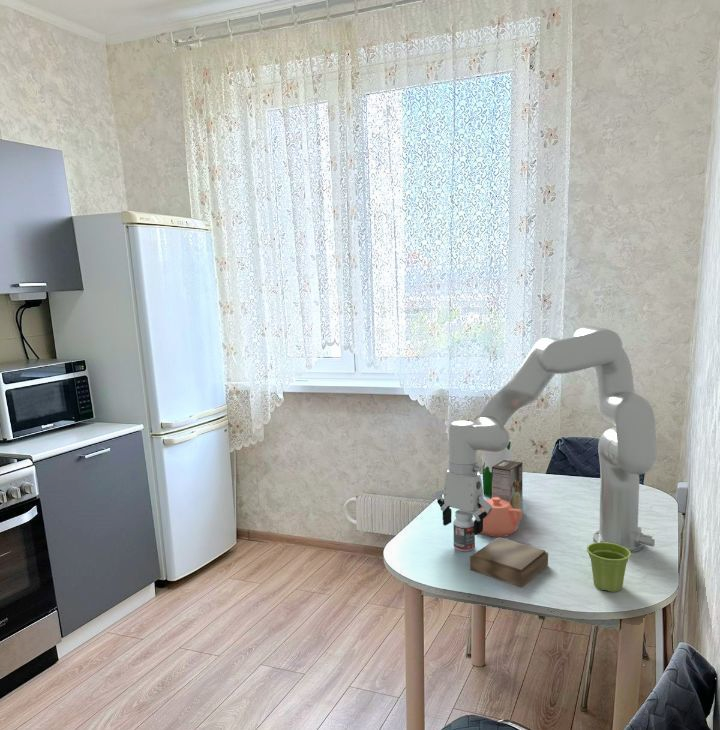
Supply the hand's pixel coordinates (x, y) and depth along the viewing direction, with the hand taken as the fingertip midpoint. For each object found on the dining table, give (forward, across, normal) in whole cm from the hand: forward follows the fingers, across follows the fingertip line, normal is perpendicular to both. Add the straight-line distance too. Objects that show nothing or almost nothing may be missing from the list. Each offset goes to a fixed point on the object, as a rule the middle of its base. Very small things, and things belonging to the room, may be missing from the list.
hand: (462, 528), depth 158 cm
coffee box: (+5, +2, -28) cm, 29 cm away
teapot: (+5, 0, -16) cm, 17 cm away
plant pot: (+5, -37, -3) cm, 38 cm away
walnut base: (+5, -15, +3) cm, 16 cm away
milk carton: (+5, +14, -43) cm, 46 cm away
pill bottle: (+6, 0, 0) cm, 6 cm away
